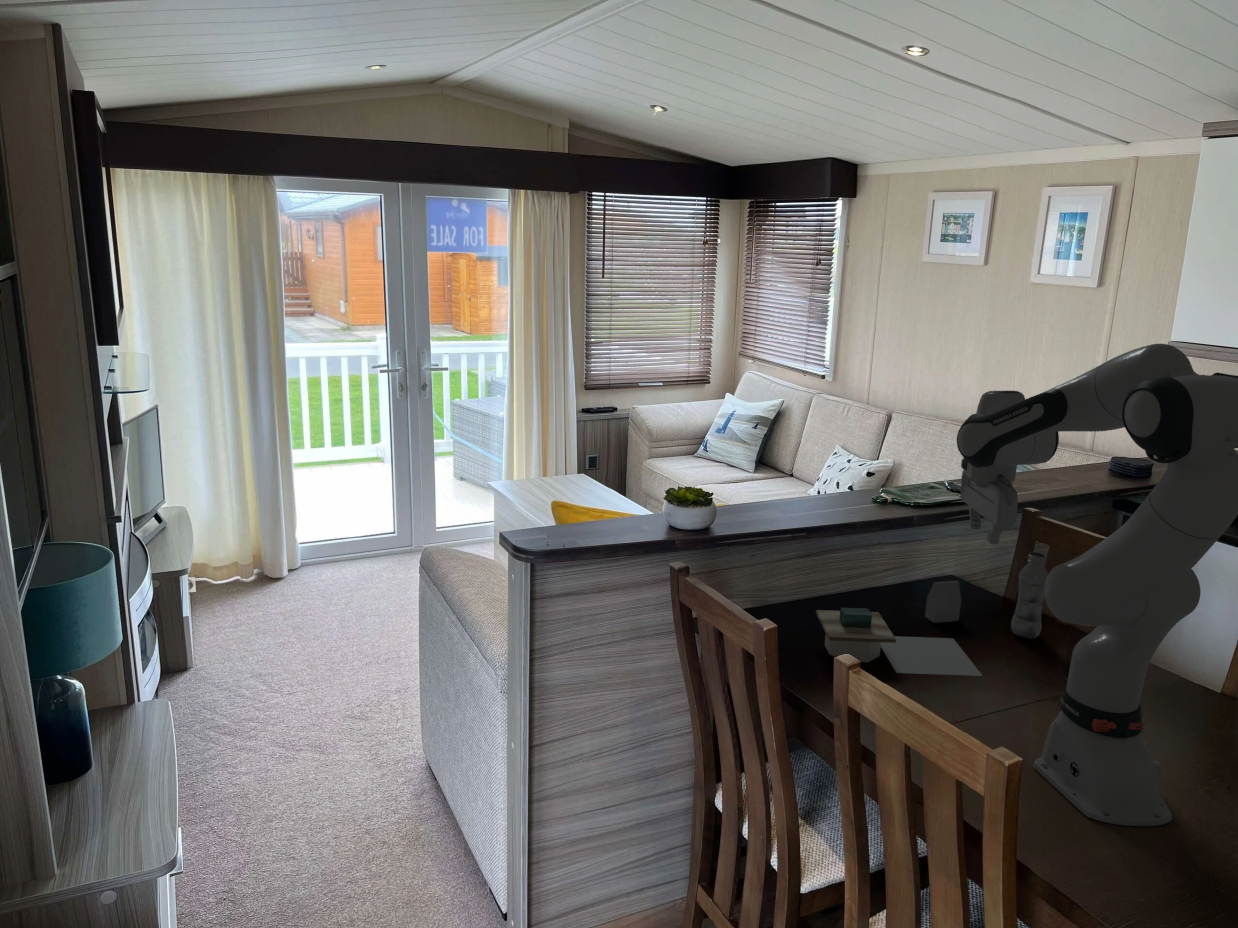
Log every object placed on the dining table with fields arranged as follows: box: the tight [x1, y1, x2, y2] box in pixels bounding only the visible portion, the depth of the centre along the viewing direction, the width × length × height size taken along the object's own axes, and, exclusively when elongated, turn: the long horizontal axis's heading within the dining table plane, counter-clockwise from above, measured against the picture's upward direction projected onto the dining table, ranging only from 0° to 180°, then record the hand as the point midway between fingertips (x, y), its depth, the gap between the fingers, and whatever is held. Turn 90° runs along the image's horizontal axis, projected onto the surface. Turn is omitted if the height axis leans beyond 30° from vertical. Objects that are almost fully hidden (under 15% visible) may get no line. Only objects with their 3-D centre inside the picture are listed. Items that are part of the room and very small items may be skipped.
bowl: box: [824, 634, 882, 663], centre depth 199 cm, size 11×11×6 cm
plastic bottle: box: [1010, 551, 1049, 640], centre depth 209 cm, size 6×7×20 cm
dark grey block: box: [924, 580, 962, 624], centre depth 217 cm, size 4×7×10 cm, turn 105°
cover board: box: [815, 607, 896, 643], centre depth 198 cm, size 14×14×4 cm
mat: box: [880, 635, 983, 677], centre depth 199 cm, size 18×18×1 cm
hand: (983, 535), depth 186 cm, fingers open, 8 cm apart
